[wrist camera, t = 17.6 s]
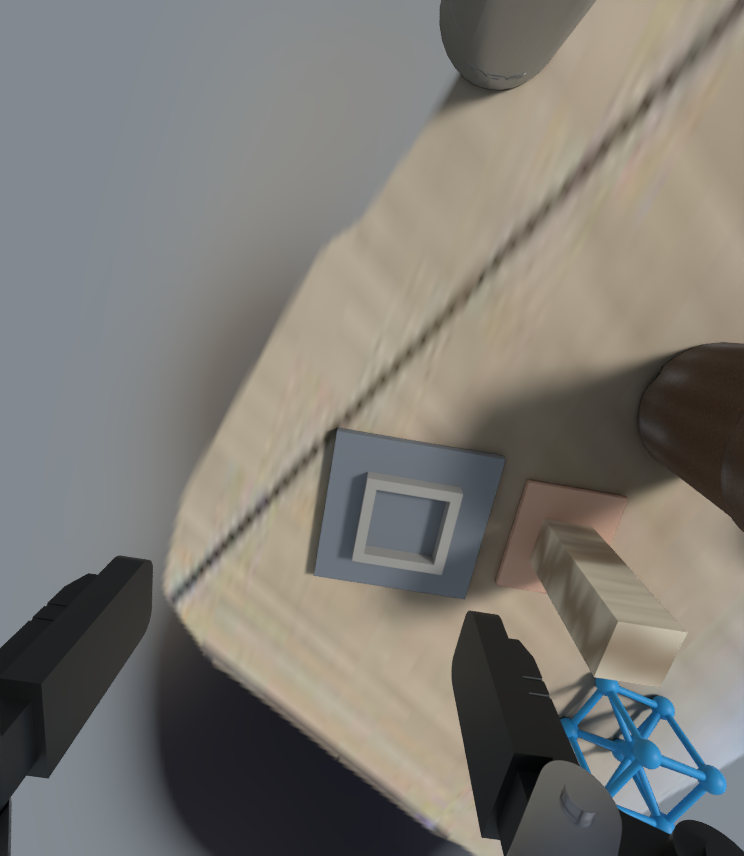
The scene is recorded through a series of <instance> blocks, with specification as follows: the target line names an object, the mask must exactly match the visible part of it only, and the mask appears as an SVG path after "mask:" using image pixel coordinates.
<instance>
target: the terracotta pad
mask: <svg viewBox="0 0 744 856" xmlns="http://www.w3.org/2000/svg"><path fill="white" fill-rule="evenodd" d="M627 502H628V498H627V497H626V496H621V495H615V494H609V493H603V492H597V491H591V490H585V489H579V488H573V487H567V486H561V485H555V484H550V483H544V482H538V481H532V480H527V482H526V485H525V488H524V491H523V494H522V498H521V501H520V504H519V507H518V510H517V514H516V517H515V520H514V523H513V526H512V530H511V533H510V536H509V539H508V542H507V545H506V549H505V552H504V555H503V558H502V561H501V565H500V568H499V571H498V574H497V577H496V581H495V582H496V585H498V586H504V587H511V588H517V589H523V590H530V591H536V592H542V593H547V592H546V590H545V589H544V587H543V585H542V583H541V581H540V580H539V578H538V576H537V574H536V572H535V571H534V569H533V567H532V565H531V563H530V562H529V560H530V557H531V554H532V551H533V548H534V545H535V543H536V540H537V537H538V534H539V531H540V528H541V525H542V522H543V519H549V520H555V521H561V522H567V523H573V524H579V525H585V526H591V527H593V528H594V529H595V530H596V531H597V533H598V534H599V535H600V536H601V537H602V538H603V539H604V540H605V541H606V543H607V544H608V545H609V546H610V545H611V542H612V540H613V537H614V535H615V532H616V530H617V527H618V525H619V522H620V520H621V517H622V514H623V512H624V509H625V507H626V504H627Z"/></svg>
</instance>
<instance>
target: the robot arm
mask: <svg viewBox="0 0 744 856" xmlns="http://www.w3.org/2000/svg"><path fill="white" fill-rule="evenodd" d="M595 1H596V0H441V5H440V30H441V36H442V41H443V44H444V47H445V50H446V53H447V55H448V57H449V59H450V60H451V62H452V64H453V65H454V67H455V68H456V69H457V70H458V71H459V72H460V74H461V75H462V76H463V77H464V78H466V79H467V80H469V81H470V82H472V83H473V84H475V85H478V86H480V87H483V88H486V89H495V90H503V89H509V88H514V87H516V86H518V85H521V84H523V83H525V82H527V81H528V80H530V79H531V78H533V77H534V76H536V75H537V74H538V73H539V72H540V71H541V70H542V69H543V68H544V67H545V66H546V65H547V64H548V63H549V61H550V60H551V59H552V57H553V56H554V55H555V53H556V52H557V51H558V49H559V48H560V47H561V46H562V44H563V43H564V42H565V40H566V39H567V38H568V37H569V35H570V34H571V33H572V32H573V30H574V29H575V28H576V26H577V25H578V24H579V22H580V21H581V20H582V18H583V17H584V16H585V15H586V13H587V12H588V11H589V9H590V8H591V7H592V5H593V4H594V3H595ZM152 574H153V565H152V562H151V561H150V560H146V559H139V558H132V557H126V556H117V557H115V558H114V559H113V560H112V561H111V562H110V563H109V564H108V565H107V566H106V567H105V568H104V569H103V570H102V571H101V572H100V573H99V575H96V574H86V575H85V576H83V577H81V578H79V579H78V580H75V581H74V582H72V583H70V584H68V585H67V586H65V587H64V588H63V589H62V590H61V591H59V593H57V594H56V596H54V597H53V598H52V599H51V600H50V601H49V602H48V604H47V606H44V607H43V608H42V609H41V610H40V611H39V612H38V613H37V614H36V615H35V616H33V619H32V620H31V621H28V622H27V623H26V624H25V625H24V626H23V627H22V628H21V629H20V630H19V631H18V632H17V633H16V634H15V635H14V636H13V637H11V638H10V639H9V640H8V641H7V642H6V643H5V644H4V645H3V646H2V647H1V648H0V856H11V810H12V809H11V808H12V802H11V796H12V794H13V793H14V792H15V790H16V789H17V788H18V786H19V785H20V783H21V782H22V781H23V779H24V778H25V776H34V777H42V778H49V777H50V775H51V773H52V772H53V770H54V769H55V767H56V766H57V765H58V763H59V762H60V760H61V759H62V757H63V756H64V754H65V753H66V751H67V750H68V748H69V747H70V745H71V744H72V742H73V740H74V739H75V738H76V736H77V735H78V733H79V732H80V730H81V729H82V727H83V726H84V724H85V722H86V721H87V720H88V718H89V717H90V715H91V714H92V712H93V711H94V709H95V708H96V706H97V705H98V703H99V702H100V700H101V699H102V697H103V696H104V694H105V693H106V691H107V690H108V688H109V687H110V685H111V684H112V682H113V681H114V679H115V678H116V676H117V675H118V673H119V672H120V670H121V669H122V667H123V666H124V664H125V663H126V661H127V660H128V658H129V657H130V655H131V654H132V652H133V651H134V649H135V648H136V646H137V645H138V643H139V642H140V640H141V639H142V637H143V636H144V634H145V632H146V629H147V627H148V624H149V621H150V617H151V610H152V578H153V575H152ZM452 685H453V691H454V696H455V701H456V706H457V711H458V717H459V722H460V727H461V732H462V738H463V743H464V748H465V753H466V759H467V764H468V769H469V774H470V780H471V785H472V790H473V795H474V801H475V806H476V811H477V816H478V821H479V827H480V832H481V837H482V838H489V839H497V840H500V841H501V845H502V850H503V854H504V856H744V852H743V850H741V849H740V848H739V847H738V846H737V845H736V844H735V843H734V842H733V841H731V840H730V839H729V838H728V837H727V836H725V835H724V834H722V833H721V832H719V831H718V830H716V829H715V828H713V827H711V826H709V825H707V824H704V823H702V822H698V821H695V820H684V821H681V822H679V823H678V824H677V825H676V826H675V828H674V830H673V831H672V833H671V834H669V833H666V832H664V831H662V830H660V829H658V828H656V827H654V826H652V825H650V824H647V823H645V822H643V821H641V820H639V819H637V818H635V817H633V816H631V815H629V814H627V813H625V812H623V811H621V810H620V809H618V808H617V806H616V804H615V802H614V800H613V798H612V797H611V795H610V794H609V792H608V791H607V789H606V788H605V787H604V786H603V785H602V784H601V783H600V782H599V781H598V780H597V779H596V778H595V777H594V776H593V775H592V774H590V773H589V772H588V771H586V770H585V769H583V768H582V767H580V765H579V763H578V761H577V758H576V756H575V754H574V751H573V749H572V747H571V744H570V742H569V740H568V737H567V735H566V733H565V730H564V728H563V725H562V723H561V721H560V718H559V716H558V714H557V711H556V709H555V707H554V704H553V702H552V700H551V699H550V698H549V692H548V690H547V688H546V685H545V683H544V682H543V681H542V676H541V674H540V671H539V669H538V667H537V664H536V662H535V660H534V658H533V656H532V655H531V654H530V653H529V652H528V650H527V649H526V648H525V647H524V646H523V645H522V643H521V642H520V641H519V640H516V639H509V638H508V636H507V633H506V631H505V628H504V625H503V623H502V620H501V618H500V616H499V615H495V614H489V613H482V612H476V611H468V612H467V614H466V616H465V619H464V623H463V626H462V629H461V633H460V636H459V639H458V643H457V646H456V649H455V653H454V656H453V661H452Z"/></svg>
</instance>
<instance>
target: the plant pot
mask: <svg viewBox="0 0 744 856" xmlns="http://www.w3.org/2000/svg"><path fill="white" fill-rule="evenodd" d="M638 423H639V431H640V435H641V439H642V441H643V443H644V445H645V447H646V449H647V450H648V452H649V453H650V454H651V455H652V456H653V457H654V458H655V459H656V460H658V461H659V462H660V463H661V464H662V465H664V466H665V467H667V468H668V469H669V470H671V471H672V472H673V473H675V474H676V475H677V476H678V477H680V478H681V479H682V480H684V481H685V482H686V483H688V484H689V485H690V486H691V487H693V488H694V489H695V490H697V491H698V492H699V493H701V494H702V495H703V496H704V497H706V498H707V499H708V500H710V501H711V502H712V503H714V504H715V505H716V506H717V507H719V508H720V509H721V510H723V511H724V512H725V513H726V514H728V515H729V516H730V517H731V518H732V519H733V521H734V522H735V523H736V525H737V526H738V527H739V528H740V529H741V530H742V531H743V532H744V344H739V343H726V342H723V343H711V344H706V345H702V346H698V347H695V348H692V349H690V350H688V351H685V352H683V353H681V354H680V355H678V356H676V357H675V358H673V359H672V360H671V361H669V362H668V363H667V364H666V365H665V366H664V367H663V368H662V370H661V373H660V374H659V376H658V377H657V378H656V379H655V380H654V382H653V383H652V384H651V385H649V386H648V387H647V388H646V390H645V392H644V395H643V397H642V400H641V404H640V408H639V417H638Z"/></svg>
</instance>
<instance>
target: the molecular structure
mask: <svg viewBox="0 0 744 856" xmlns="http://www.w3.org/2000/svg"><path fill="white" fill-rule="evenodd" d="M595 683H596V687H597V690H596V692H595V693H594V694H593V695H592V696H591V697H590V699H589V700H588V701H587V702H586V703H585V704H584V706H583V707H582V708H581V709H580V710H579V711H578V713H577V714H576V715H575V716H574V717H573V719H570V718H562V719H561V720H560V721H561V723H562V725H563V728H564V730H565V733H566V735H567V737H568V740H569V742H570V743H571V745H572V747H573V750H574V752H575V754H576V757H577V759H578V761H579V764H580V766H581V767H582V768H583V769H585V770H586V771H588V772H589V773H590V774H591V772H590V770H589V767H588V765H587V763H586V761H585V758H584V756H583V754H582V752H581V749H580V747H579V745H578V743H577V740H576V739H577V738H578V737H579V738H582V739H584V740H587V741H589V742H592V743H594V744H597V745H599V746H602V747H604V748H607V749H609V750H611V751H612V754H613V755H614V757H615V758H616V759H617V760H618V761H620V762H621V763H620V765H619V766H618V768H617V769H616V771H615V773H614V774H613V776H612V777H611V779H610V780H609V782H608V783H607V785H606V786H605V788H606V789H607V791H608V792H609V794H610V795H611V797H613V796H614V795H615V794H616V793H617V792H618V791H619V790H620V789H621V788H622V787H623V786H624V785H625V784H626V783H627V782H628V781H629V780H630V779H631V778H632V777H633V779H634V781H635V783H636V785H637V787H638V789H639V791H640V793H641V795H642V797H643V798H644V800H645V802H646V804H647V806H648V808H649V810H650V812H651V815H650V817H648V816H645V815H642V814H640V813H637V812H635V811H632V810H629V809H627V808H624V807H621V806H619V805H616V806H617V808H618V809H620V810H621V811H623V812H625V813H627V814H629V815H631V816H633V817H635V818H637V819H639V820H641V821H643V822H645V823H647V824H650V825H652V826H654V827H656V828H658V829H660V830H662V831H664V832H666V833H669V834H671V833H672V831H673V830H674V828H675V826H674V822H675V821H676V820H677V819H678V818H679V817H680V816H681V815H682V814H683V813H685V812H686V811H687V810H688V809H689V808H690V807H691V806H692V805H693V804H694V803H695V802H696V801H697V800H698V799H699V798H700V797H701V796H703V795H704V793H706V792H709V793H711V794H714V795H720V794H722V793H724V792H725V790H726V780H725V778H724V776H723V774H722V773H721V772H720V771H719V770H718V769H716V768H715V767H713V766H710V765H705V763H704V762H703V760H702V759H701V757H700V756H699V754H698V753H697V752H696V750H695V749H694V747H693V746H692V744H691V743H690V741H689V740H688V738H687V737H686V736H685V734H684V733H683V731H682V730H681V728H680V727H679V725H678V724H677V723H676V721H675V720H674V718H673V716H674V713H675V710H674V706H673V704H672V703H671V702H670V701H669V700H668V699H667V698H665V697H663V696H656V697H654V698H653V699H652V700H651V699H649V698H647V697H644V696H642V695H639V694H637V693H635V692H632V691H630V690H628V689H625V688H623V687H621V686H619V685H618V682H617V681H616V680H610V679H603V678H596V680H595ZM617 693H620V694H622V695H624V696H627V697H629V698H632V699H634V700H636V701H639V702H641V703H644V704H646V705H648V706H651V709H652V711H653V712H652V713H651V714H650V715H649V717H648V718H647V719H646V720H645V721H644V722H643V723H642V724H641V725H640V726H639V727H638V728H636V726H635V725H634V723H633V721H632V720H631V718H630V716H629V714H628V713H627V711H626V709H625V708H624V706H623V704H622V703H621V701H620V699H619V698H618V696H617ZM603 695H605V696H608V698H609V700H610V703H611V705H612V708H613V711H614V713H615V716H616V718H617V721H618V724H619V726H620V729H621V731H622V734H623V737H624V739H625V741H624V740H622V739H617V740H614V741H611V740H608V739H605V738H602V737H599V736H596V735H593V734H591V733H588V732H585V731H582V730H579V728H578V726H577V725H578V724H579V723H580V721H581V720H582V719H583V718H584V717H585V716H586V714H587V713H588V712H589V711H590V710H591V709H592V708H593V706H594V705H595V704H596V703H597V702H598V701H599V699H600V698H601V697H602V696H603ZM660 719H663V720H667V721H668V723H669V724H670V726H671V727H672V729H673V730H674V732H675V733H676V735H677V736H678V738H679V739H680V741H681V742H682V744H683V745H684V746H685V748H686V749H687V751H688V752H689V754H690V755H691V757H692V758H693V760H694V761H695V763H696V764H697V766H698V767H699V768H698V769H695V768H692V767H690V766H687V765H685V764H682V763H680V762H677V761H675V760H672V759H670V758H667V757H665V756H663V755H661V752H660V750H659V749H658V747H657V746H656V745H655V744H654V743H653V742H651V741H649V740H647V739H648V737H649V736H650V734H651V733H652V731H653V729H654V728H655V726H656V725H657V723H658V722H659V720H660ZM627 727H628V728H627ZM628 729H629V730H630V732H631V734H632V735H630V733H629V730H628ZM643 766H644V767H645V768H648V769H656V768H658V767H659V766H662V767H665V768H668V769H671V770H673V771H676V772H679V773H682V774H685V775H687V776H690V777H693V778H696V779H698V782H699V784H698V785H697V786H696V787H695V788H694V789H693V790H692V791H691V792H690V793H689V794H688V795H687V796H686V797H685V798H684V799H683V800H681V802H679V803H678V804H677V805H676V806H675V807H674V808H673V809H672V810H671V811H670V812H669V813H668V814H667V815H666V814H664V813H662V812H660V810H659V807H658V804H657V802H656V799H655V797H654V794H653V792H652V789H651V787H650V784H649V781H648V779H647V776H646V774H645V771H644V769H643Z"/></svg>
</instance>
